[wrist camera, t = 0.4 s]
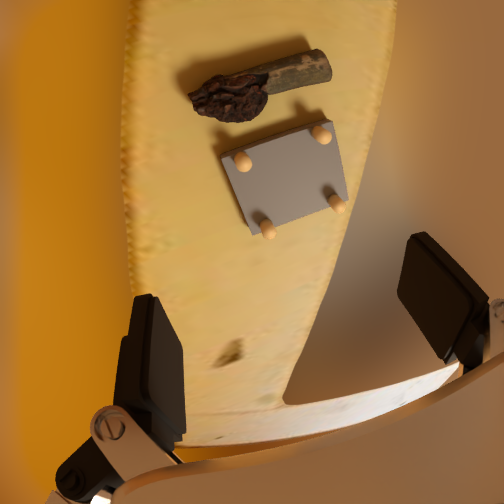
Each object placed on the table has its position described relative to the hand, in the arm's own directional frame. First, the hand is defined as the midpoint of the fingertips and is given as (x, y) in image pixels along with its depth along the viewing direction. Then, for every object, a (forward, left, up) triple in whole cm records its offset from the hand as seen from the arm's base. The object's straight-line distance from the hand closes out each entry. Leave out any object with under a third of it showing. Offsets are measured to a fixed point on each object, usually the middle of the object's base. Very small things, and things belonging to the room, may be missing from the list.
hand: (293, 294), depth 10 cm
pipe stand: (+11, +6, -33) cm, 35 cm away
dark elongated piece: (-3, +6, -33) cm, 34 cm away
